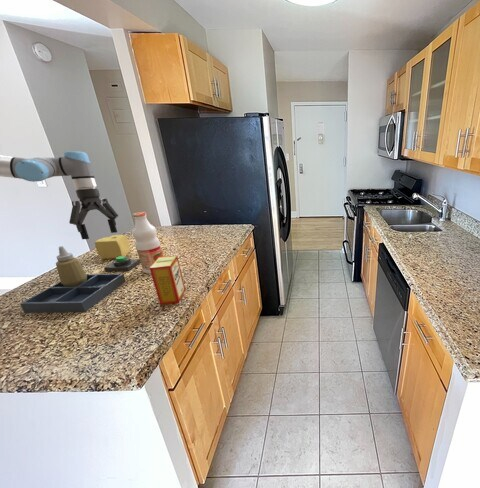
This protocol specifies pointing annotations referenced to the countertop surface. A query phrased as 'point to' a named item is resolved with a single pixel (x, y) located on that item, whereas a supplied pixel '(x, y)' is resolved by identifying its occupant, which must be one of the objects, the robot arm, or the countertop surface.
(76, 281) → the squeeze bottle
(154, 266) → the baking soda box
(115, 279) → the compartment tray
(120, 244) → the cheese
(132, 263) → the panel
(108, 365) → the countertop surface
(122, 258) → the button
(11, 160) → the robot arm
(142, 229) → the fruit juice
